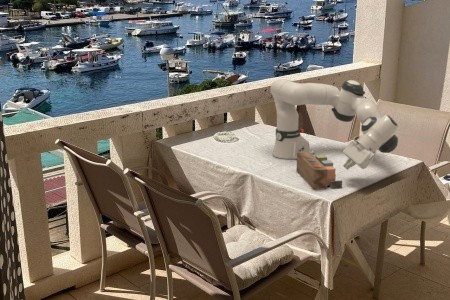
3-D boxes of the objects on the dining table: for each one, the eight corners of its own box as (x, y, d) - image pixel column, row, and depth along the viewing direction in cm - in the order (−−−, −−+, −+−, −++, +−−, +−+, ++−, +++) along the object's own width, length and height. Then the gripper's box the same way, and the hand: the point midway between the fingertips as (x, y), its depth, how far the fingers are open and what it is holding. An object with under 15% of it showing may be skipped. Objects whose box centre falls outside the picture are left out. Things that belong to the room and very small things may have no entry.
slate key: (329, 175, 271) (330, 160, 268) (332, 178, 267) (333, 162, 265) (320, 176, 270) (321, 160, 268) (323, 179, 266) (324, 163, 264)
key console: (322, 168, 281) (323, 150, 279) (341, 187, 256) (343, 167, 254) (296, 170, 279) (297, 151, 276) (313, 189, 254) (314, 169, 252)
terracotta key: (331, 182, 262) (332, 166, 260) (334, 185, 258) (335, 169, 256) (322, 182, 262) (323, 166, 259) (325, 185, 258) (326, 169, 256)
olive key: (323, 169, 279) (324, 154, 276) (326, 172, 275) (327, 157, 273) (314, 170, 278) (315, 155, 276) (317, 173, 274) (318, 157, 272)
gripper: (381, 157, 248) (358, 180, 250) (362, 143, 268) (341, 165, 269) (372, 148, 246) (349, 171, 248) (354, 135, 265) (332, 156, 267)
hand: (345, 167), depth 258 cm, fingers closed
